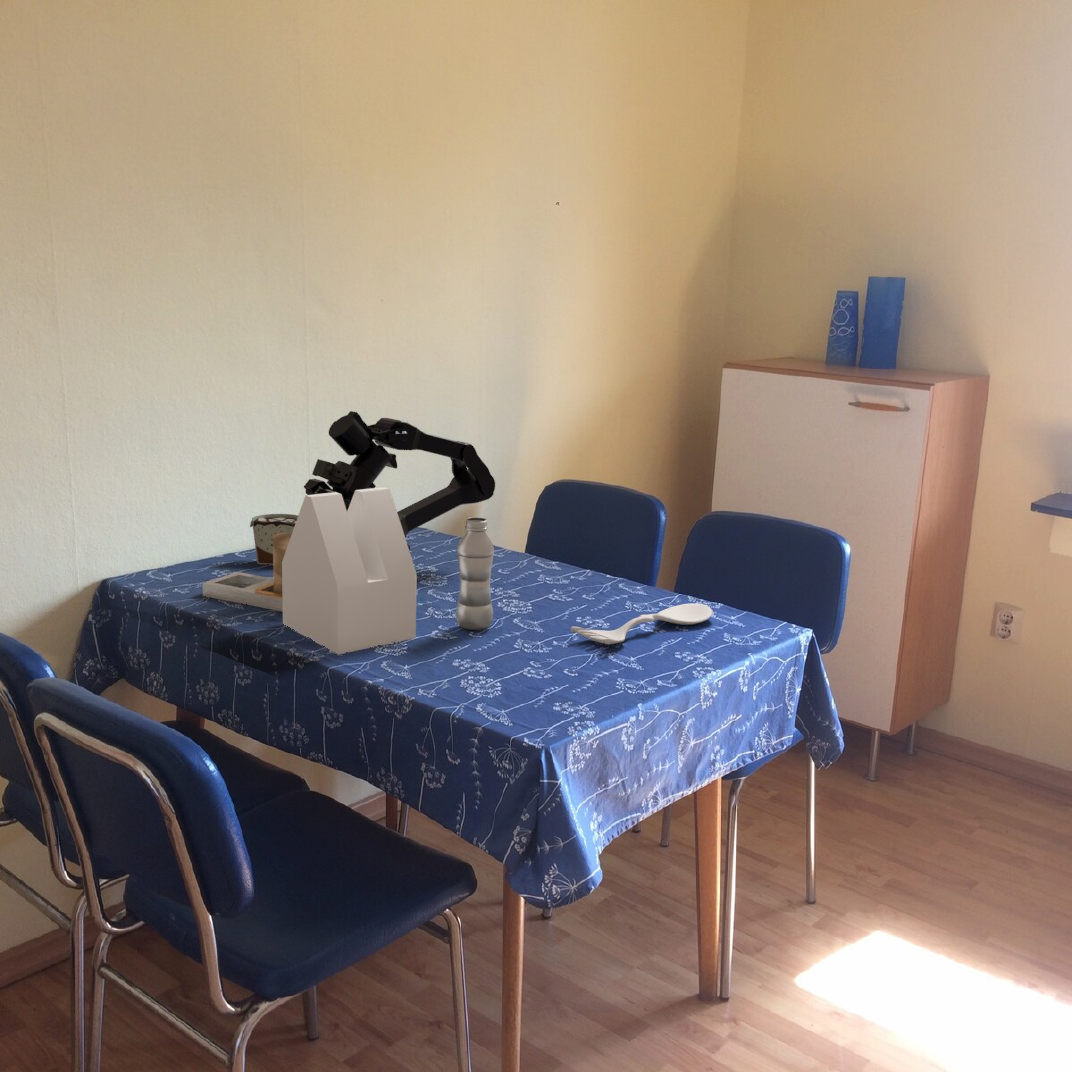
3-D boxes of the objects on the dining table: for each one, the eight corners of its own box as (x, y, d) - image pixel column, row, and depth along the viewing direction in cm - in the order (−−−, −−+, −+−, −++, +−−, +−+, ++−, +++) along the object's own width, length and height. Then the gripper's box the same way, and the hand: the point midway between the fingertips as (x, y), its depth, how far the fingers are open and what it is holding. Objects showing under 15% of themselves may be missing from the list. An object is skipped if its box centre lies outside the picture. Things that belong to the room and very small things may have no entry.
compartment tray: (324, 600, 212) (324, 586, 212) (292, 613, 204) (291, 598, 203) (237, 584, 221) (237, 570, 220) (202, 595, 212) (202, 581, 211)
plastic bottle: (495, 633, 197) (498, 523, 192) (456, 634, 195) (459, 523, 191) (490, 622, 203) (493, 515, 198) (453, 623, 202) (455, 515, 197)
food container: (315, 559, 242) (315, 515, 239) (307, 567, 236) (306, 521, 233) (260, 556, 243) (259, 511, 240) (250, 563, 237) (249, 517, 234)
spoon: (567, 643, 194) (568, 624, 193) (684, 611, 215) (686, 594, 214) (605, 657, 187) (606, 638, 186) (722, 623, 209) (723, 605, 208)
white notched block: (415, 638, 193) (417, 497, 187) (338, 655, 183) (337, 506, 177) (357, 611, 207) (358, 479, 201) (282, 625, 197) (280, 486, 192)
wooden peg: (304, 599, 212) (303, 533, 209) (296, 607, 207) (295, 539, 204) (278, 598, 213) (277, 532, 210) (270, 605, 208) (269, 538, 205)
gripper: (311, 437, 217) (262, 499, 213) (366, 450, 204) (314, 516, 199) (346, 473, 225) (299, 533, 220) (400, 488, 211) (351, 552, 206)
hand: (314, 533), depth 211 cm, fingers open, 9 cm apart
